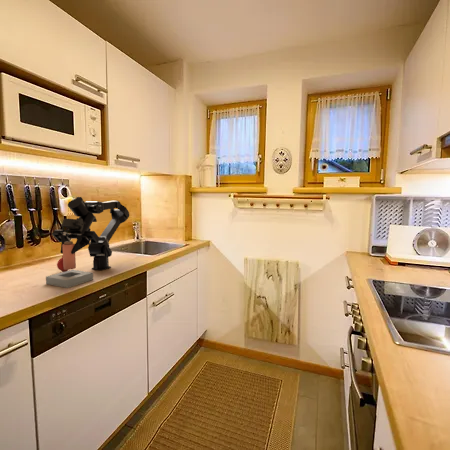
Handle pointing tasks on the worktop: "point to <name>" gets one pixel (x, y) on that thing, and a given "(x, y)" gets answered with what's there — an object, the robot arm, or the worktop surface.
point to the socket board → (69, 278)
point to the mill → (68, 256)
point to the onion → (61, 265)
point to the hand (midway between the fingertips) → (66, 253)
